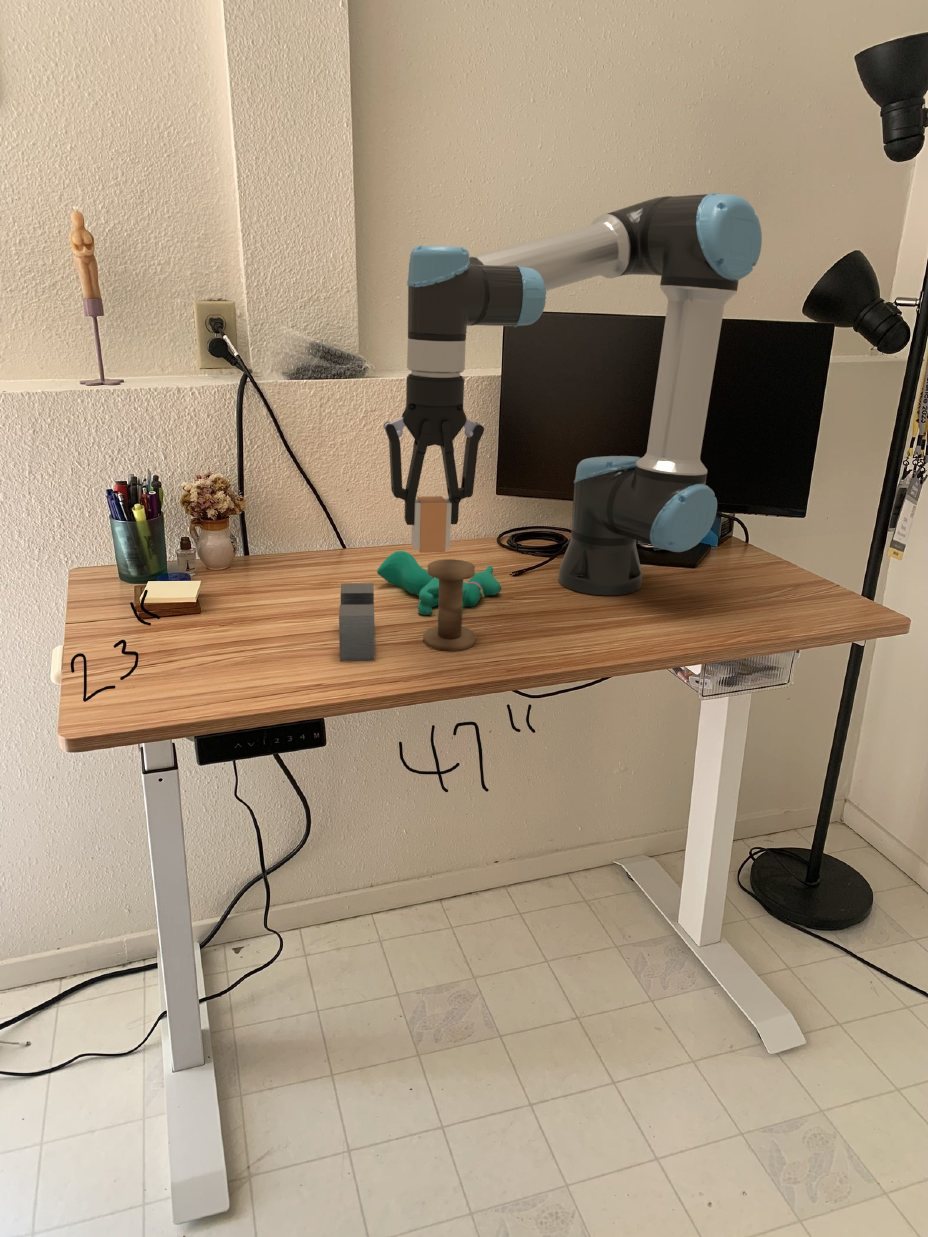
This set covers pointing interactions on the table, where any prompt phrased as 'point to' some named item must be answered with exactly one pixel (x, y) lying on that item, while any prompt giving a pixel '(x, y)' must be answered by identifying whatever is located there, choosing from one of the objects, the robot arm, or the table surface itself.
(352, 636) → the metal block
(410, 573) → the toy
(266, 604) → the table surface
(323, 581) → the table surface
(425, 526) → the orange brown block
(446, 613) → the bobbin
